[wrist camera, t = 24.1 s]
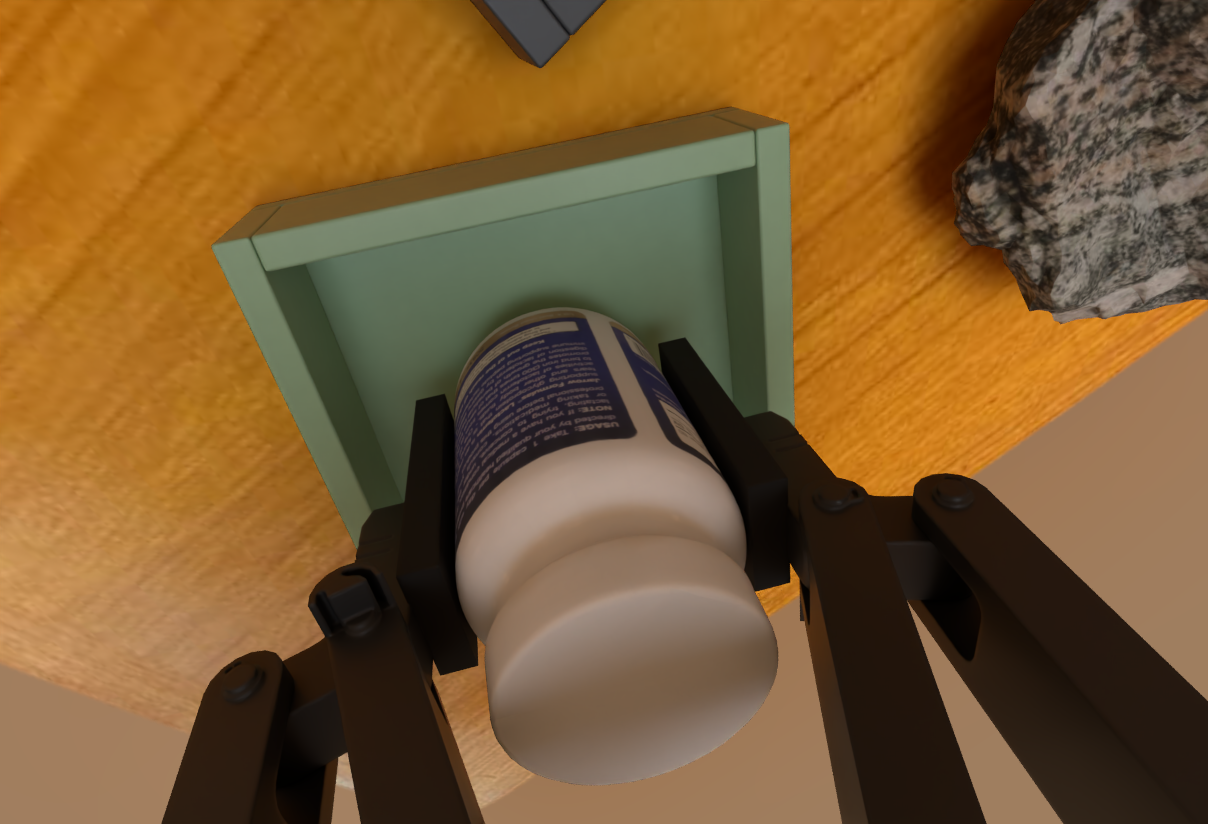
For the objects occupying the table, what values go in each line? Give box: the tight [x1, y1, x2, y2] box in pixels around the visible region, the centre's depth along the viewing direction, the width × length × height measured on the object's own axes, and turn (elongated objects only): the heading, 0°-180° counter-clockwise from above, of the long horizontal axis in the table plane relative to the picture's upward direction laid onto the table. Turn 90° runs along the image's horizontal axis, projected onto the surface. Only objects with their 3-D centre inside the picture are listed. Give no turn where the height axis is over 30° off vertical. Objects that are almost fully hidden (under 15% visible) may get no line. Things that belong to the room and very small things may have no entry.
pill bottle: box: [454, 307, 778, 785], centre depth 15 cm, size 6×6×10 cm
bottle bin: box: [211, 107, 795, 549], centre depth 19 cm, size 13×13×4 cm
